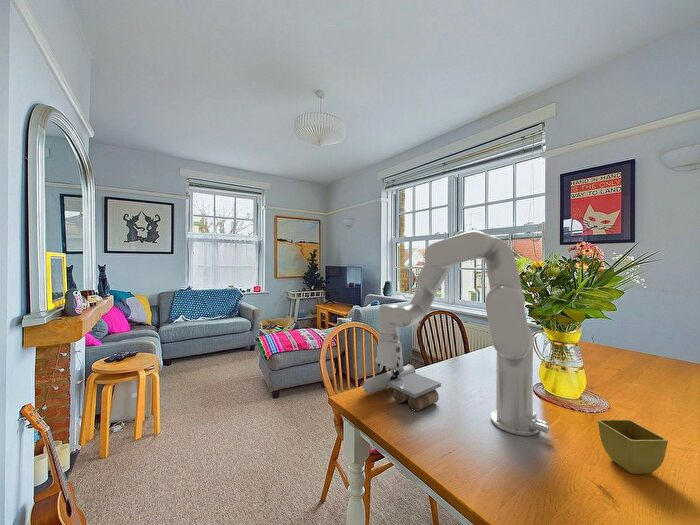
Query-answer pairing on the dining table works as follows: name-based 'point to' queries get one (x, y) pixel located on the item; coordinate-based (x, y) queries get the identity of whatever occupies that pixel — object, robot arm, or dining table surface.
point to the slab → (414, 385)
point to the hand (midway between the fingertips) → (388, 383)
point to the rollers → (417, 399)
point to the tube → (384, 380)
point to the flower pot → (632, 445)
